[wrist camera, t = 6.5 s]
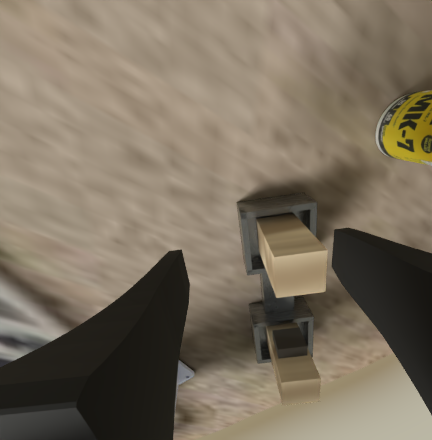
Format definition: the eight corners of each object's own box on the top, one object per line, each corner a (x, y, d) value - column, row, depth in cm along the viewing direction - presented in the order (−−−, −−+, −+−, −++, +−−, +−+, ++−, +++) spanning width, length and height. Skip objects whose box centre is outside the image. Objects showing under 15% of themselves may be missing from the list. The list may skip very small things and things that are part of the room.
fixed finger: (295, 340, 25) (319, 401, 19) (267, 343, 25) (282, 405, 19) (295, 310, 23) (321, 368, 18) (264, 314, 23) (280, 373, 18)
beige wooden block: (256, 218, 19) (274, 257, 13) (293, 213, 19) (327, 250, 13) (259, 261, 21) (277, 311, 15) (294, 257, 21) (324, 305, 15)
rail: (303, 335, 27) (312, 357, 24) (253, 341, 27) (257, 363, 24) (303, 192, 20) (317, 202, 17) (236, 202, 20) (240, 213, 17)
